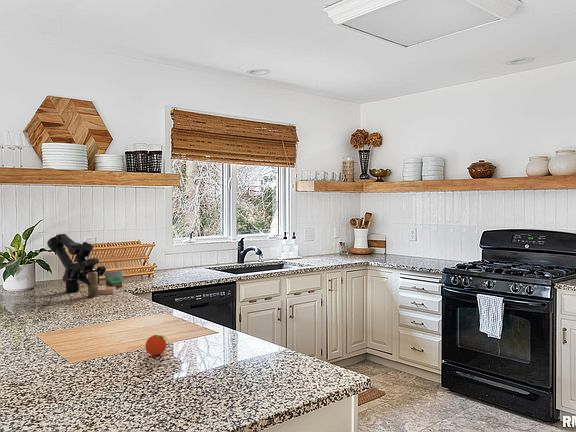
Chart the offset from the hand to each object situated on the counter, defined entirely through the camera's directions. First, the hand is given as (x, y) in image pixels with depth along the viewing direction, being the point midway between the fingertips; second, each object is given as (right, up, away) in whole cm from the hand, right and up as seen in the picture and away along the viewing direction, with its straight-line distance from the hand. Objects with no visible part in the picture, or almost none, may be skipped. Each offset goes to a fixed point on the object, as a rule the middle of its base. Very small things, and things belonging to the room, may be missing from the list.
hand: (94, 284), depth 272 cm
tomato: (+60, -11, -99) cm, 117 cm away
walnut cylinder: (-1, -7, +1) cm, 7 cm away
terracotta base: (+2, -6, +11) cm, 13 cm away
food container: (+3, -6, +26) cm, 27 cm away
